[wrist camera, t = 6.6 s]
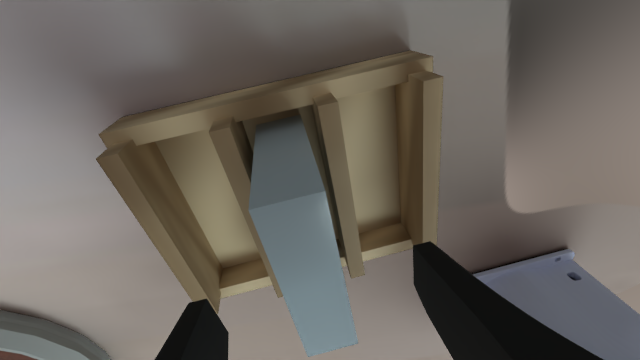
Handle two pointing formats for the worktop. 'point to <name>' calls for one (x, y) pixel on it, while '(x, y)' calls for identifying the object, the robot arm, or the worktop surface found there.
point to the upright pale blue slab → (300, 235)
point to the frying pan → (43, 340)
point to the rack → (330, 155)
